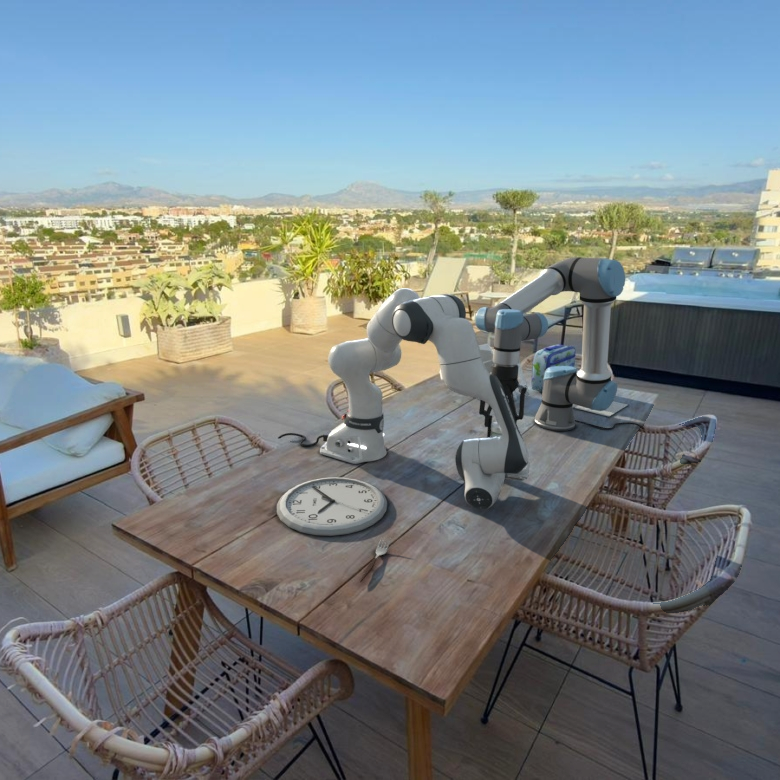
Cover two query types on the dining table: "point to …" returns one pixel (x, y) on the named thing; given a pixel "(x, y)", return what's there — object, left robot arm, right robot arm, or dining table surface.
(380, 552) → the fork
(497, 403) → the left robot arm
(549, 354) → the lunch box
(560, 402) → the right robot arm
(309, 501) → the wall clock
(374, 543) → the dining table surface
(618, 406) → the invitation card
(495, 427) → the lid
